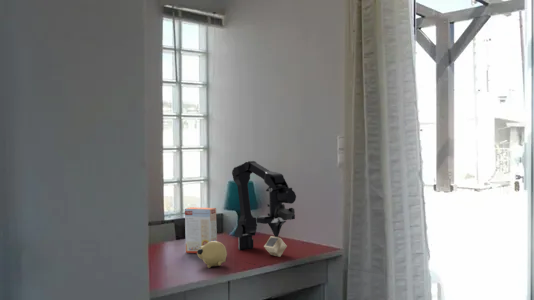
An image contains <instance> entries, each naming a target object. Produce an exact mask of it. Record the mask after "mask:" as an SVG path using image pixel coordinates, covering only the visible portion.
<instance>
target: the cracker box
mask: <svg viewBox="0 0 534 300" xmlns="http://www.w3.org/2000/svg"><path fill="white" fill-rule="evenodd" d="M184 219H185V220H184V227H185V228H184V229H185V233H184V235H185V253H187V254H188V253H189V254H197V251H198V249H199V248H200V247H201V246H204V245H205V244H207V243H208V242H211V241H218V233H217V231H218V229H217V227H218V226H217V208H216V207H199V206H198V207H186V208H184Z"/></svg>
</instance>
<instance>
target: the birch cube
mask: <svg viewBox="0 0 534 300" xmlns="http://www.w3.org/2000/svg"><path fill="white" fill-rule="evenodd" d="M287 247H288V245H287V244H286V243H285V242H284V240H283V239H282V238H281V237H279V236H278V237H275V236H274V235H270V237H269V238H268V239H267V241H266V243H265V244H264V245H263V248H264V249H265V251H267V252H268V253H269V255H271V256H275V257H279V258H280V257H281V256H282V255H283V253H284V252H285V250H286V248H287Z"/></svg>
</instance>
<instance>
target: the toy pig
mask: <svg viewBox="0 0 534 300" xmlns="http://www.w3.org/2000/svg"><path fill="white" fill-rule="evenodd" d="M196 254H197V257H198V258H199V259H200V260H202V261H203V263H204V264H205V265H206V266H207V269H211V268H212V267H218V266H221V265H222V264H223V263H226V262H227V261H226V259H227V255H228V252H227V247H226V246H225V245H224V244H223V243H222V242H220V241H218V240H217V241H211V242H208V243H207V244H205V245H204V246H201V247H200V248H199V249H198V251H197V253H196Z"/></svg>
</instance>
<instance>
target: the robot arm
mask: <svg viewBox="0 0 534 300" xmlns="http://www.w3.org/2000/svg"><path fill="white" fill-rule="evenodd" d="M231 174H232V179H233V182H234V183H235V185H236V186H237V193H238V194H237V195H238V203H239V210H240V211H239V212H240V217H239V219H238V223H237V224H238V226H237V228H236V229H235V231H234V236H235V237H236V238H238V246H237V249H238V250H239V251H247V250H253V249H254V248H255V247H254V238H253V236H254V237H255V236H256V231H257V226H258V224H267V225H268V226H269V228H270V229H271V231H272V233H273V236H274V237H279V236H280V235H279V234H280V233H281V232H280V231H281V229H282V226H283V225H284V224H285V223H287V221H288V220H290V221H291V220H296V219H295V218H296V214H295V208H294V207H289V208H286V205H285V204H290V205H291V204H294V202H295V201H296V199H297V195H296V192H295V190H293V187H289V185H288V183H287V181H286V179H285V177H284V175H283V174H282V173H280V172H277V171H272V170H269V169H268V168H266V167H264V166H262V165H260V164H259V163H257V161H255V160H250V161H249V160H247V161H245V162H243V163H242V164H240V165H237V166H234V168H233V169H232V171H231ZM252 174H255V175H256V176H258V177H259V178H261V179H263V182H264V183H265V184H266V186H268V187H267V188H266V189H265V192H268V198H269V199H268V200H269V201H268V204H266V205H267V207H268V208H269V213H267V215H257V217H254V215H252V209H251V201H250V193H249V183H250V180H251V175H252Z"/></svg>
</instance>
